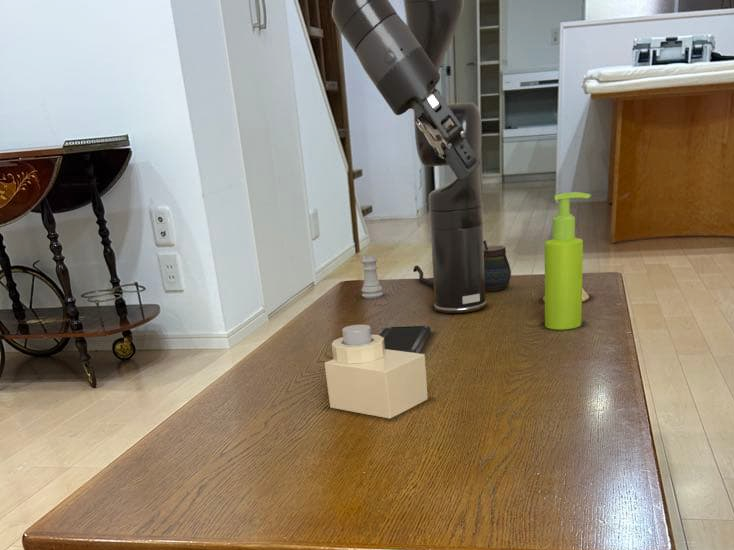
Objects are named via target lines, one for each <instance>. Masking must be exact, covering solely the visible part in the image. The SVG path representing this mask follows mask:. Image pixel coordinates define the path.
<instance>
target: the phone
mask: <svg viewBox="0 0 734 550" xmlns="http://www.w3.org/2000/svg"><path fill="white" fill-rule="evenodd" d="M378 335H379V336H381V337H383V338H384V344H385V349H388V350H396V351H404V352H411V353H419V354H420V352H421V351H422V349H423V348H424V346H425V344H426V342H427V340H428V339H429V337H430V336H431V327H430V326H429V325H411V326H388V327H385V328H383V329H382V331H381V332H380V333H379V334H378Z"/></svg>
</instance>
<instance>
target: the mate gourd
mask: <svg viewBox="0 0 734 550" xmlns="http://www.w3.org/2000/svg"><path fill="white" fill-rule="evenodd" d="M483 243H484V272H485V293H486V292H487V293H488V292H499V291H502V290H505V289H507V287H508V286H509V284H510V280H511V277H512V270H511V266H510V262H509V259H508V257H507V250H506V246H504V245H500V244H491V245H488V243H487V240H486V239H484V240H483Z"/></svg>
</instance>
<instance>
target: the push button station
mask: <svg viewBox="0 0 734 550" xmlns="http://www.w3.org/2000/svg"><path fill="white" fill-rule="evenodd" d="M379 335H380V334H372V333H371V336H372V342H370V343H367V344H362V345H351V346H350V345H344V341H343V336H342V337H339V338H336V339H334V340H333V341H332V343H331V350H332V359H330V360H328V361H326V362H324V368H325V369H324V370H325V378H326V385H327V393H328V401H329V407H330V409H336V410H342V411H347V412H351V413H356V414H357V413H358V414H361V415H369V416H373V417H379V418H383V419H393V418H394V417H396V416H398V415H400V414H402V413H405V412H406V411H408V410H410V409H412V408H414V407H416V406H418V405H420V404H421V403H424V402H426V401H427V400H428V399H429V396H428V383H427V382H428V381H427V367H426V355H425V353H420V352H419V353H411V352H404V351H396V350H388V349H385V344H384V338H383V337H381V336H379Z"/></svg>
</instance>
